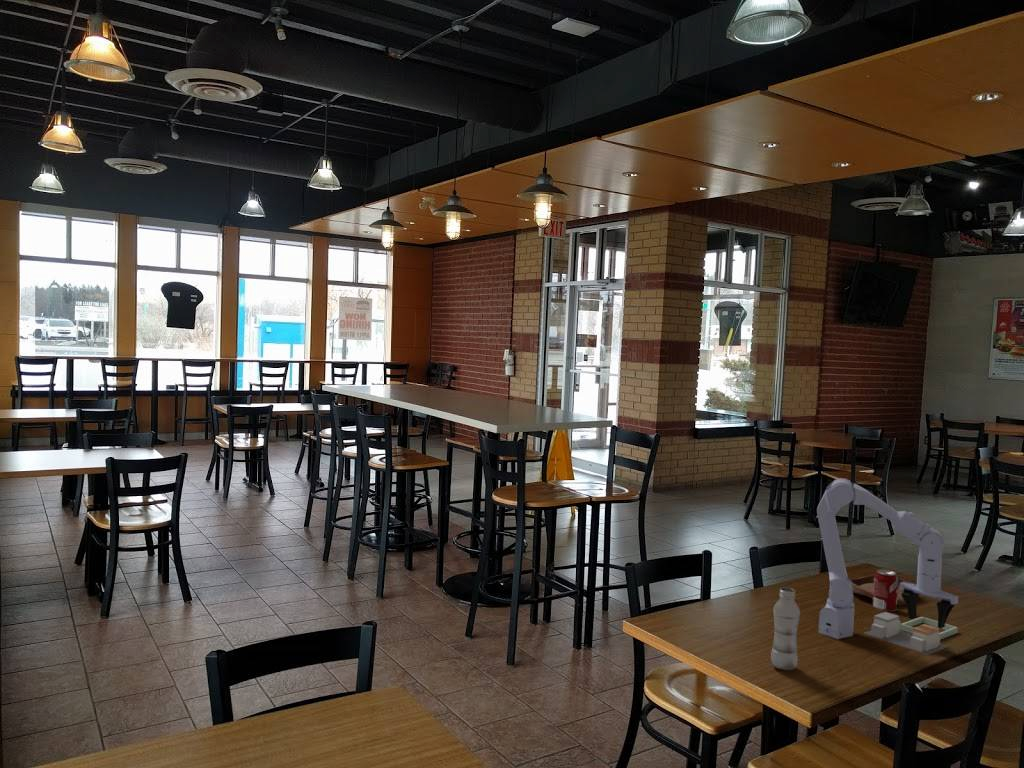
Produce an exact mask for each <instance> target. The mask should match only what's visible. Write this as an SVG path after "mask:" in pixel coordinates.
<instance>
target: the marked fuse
mask: <svg viewBox="0 0 1024 768" xmlns="http://www.w3.org/2000/svg"><path fill="white" fill-rule="evenodd" d="M939 633H940V628H938V627H935V626H932V625H928V624H925V623H922V624H919V625H916V626H913V633H912V635H913V636H915V637H918V638H921V639H924V640H925V648H924V650H925V651H928V650H931V649H933V648H936V647H938V641H939Z"/></svg>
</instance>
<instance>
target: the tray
mask: <svg viewBox="0 0 1024 768" xmlns="http://www.w3.org/2000/svg"><path fill="white" fill-rule="evenodd" d="M921 624H926V625H929V626H932V627H936V628H938V620H934V619H931V618H929V617H928V618H927V617H924V616H920V617H916V618H915V619H909V621H905V622H901V627H900V631H903V632H906V633H909V634H913V628H914V627H916V626H918V625H921ZM940 629H941V630H943V631H941V632H939V633H940V640H943V639H945V638H947V637H950V636H952V635H956V634H958V629H959V628H958V627H957V626H955V625H950V624H947V623H945V626H944V627H943V628H940Z"/></svg>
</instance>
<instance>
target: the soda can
mask: <svg viewBox="0 0 1024 768" xmlns="http://www.w3.org/2000/svg"><path fill="white" fill-rule="evenodd" d="M874 574H875V575H874ZM874 574H873V575H874V591H873V598H872V607H873V608H875V609H877V610H881V611H885V612H893V613H894V612H896V611H897V609H898V607H897V593H898V578H899V577H898V576H897V572H895V571H893V570H889V569H877V570H876V573H874ZM897 577H898V578H897Z"/></svg>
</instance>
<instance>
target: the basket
mask: <svg viewBox="0 0 1024 768" xmlns="http://www.w3.org/2000/svg"><path fill="white" fill-rule="evenodd" d="M875 574H876V573H874V574H868V575H867V576H866V575H865V576H861V577H857V578H849V580H850V581H851V582H852V584H853V588H854V589H853V594H859V595H862V596H866V597H868V598H871V599H873V591H874V575H875ZM897 578H898V593H897V605H903V606H906V603H905V601H904V599H903V597H902V593H903V591H904V590H900V583H902V582H906V583H911V584H914V582H911V581H910V580H905V579H901V578H899V577H898V576H897Z"/></svg>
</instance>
